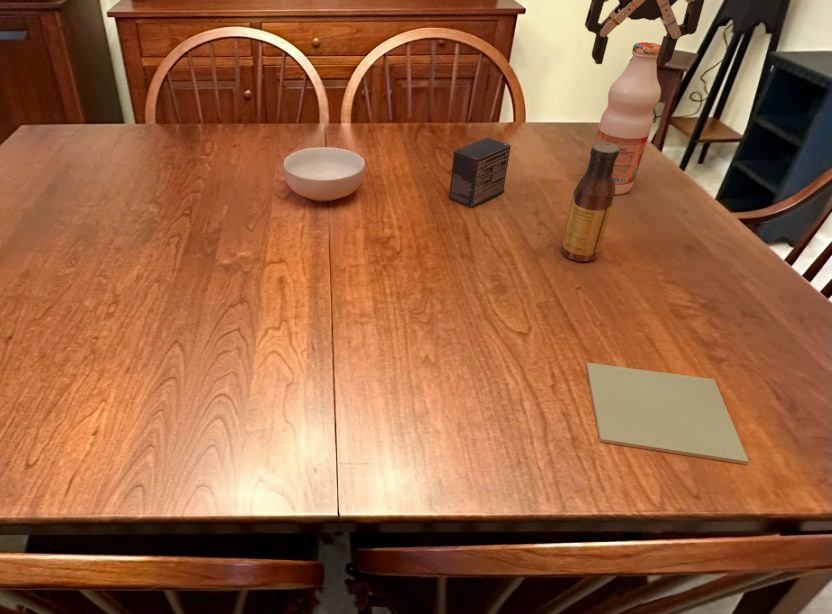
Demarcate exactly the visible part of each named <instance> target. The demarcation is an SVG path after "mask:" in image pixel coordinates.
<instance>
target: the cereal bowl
mask: <svg viewBox="0 0 832 614" xmlns="http://www.w3.org/2000/svg"><path fill="white" fill-rule="evenodd" d="M282 165H283V167H282V171H283V176H284V181H285V182H286V185H288V188H290V189H291V190H292V191H293V192H294V193H296V194H297V195H299V196H301V197H304V198H308V200H312V201H314V202H315V201H316V202H323V203H324V202H332V201H335V200H338V199H340V198H341V199H342V198H344V197H347V196H350V195H352V194H353V193H354V192H355V191H356V190H357V189H359V187H360V186H361V184H362V183H363V181H364V178H365V170H366V163H365V160H364V158H363V157H362V156H361V155H360V154H358V153H356V152H354V151H353V150H348V149H344V148H338V147H332V146H331V147H330V146H318V147H317V146H316V147H309V148H303V149H300V150H296V151H294V152H292V153H289V154H288V156H286V157H285V158H284V160H283V164H282Z"/></svg>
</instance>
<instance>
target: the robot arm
mask: <svg viewBox="0 0 832 614" xmlns="http://www.w3.org/2000/svg"><path fill="white" fill-rule="evenodd" d="M608 1H610V0H591V1H590V5H589V8H588V12H587V15H586V18H585V22H584V26H585V28H586V29H587V31H588V32H589V33H593V34H595V38H594V42H593V47H592V49H591V51H592V52H591V58H592V60H594V63H595V64H596V65H602V64H603V63H604V62H603V61H604V58H605V54H606V50H607V46H608V42H609V36H608V35H610V33H611V32H613V30H614V29H615V28H616V27H618V26H619V25H621V24H622V23H623V22H624V21H625V20H626V19H627V18H628V19H630V20H631V21H638V20H642V19H644V20H648V21H656V20H658V19H659V20H660V21H661V23H662V25H663V27H664V29H665V31H666V34H665V35H663V37H662V41H661V43H660V45H661V47H660V50H659V53H658V57H657V60H656V64H657V67H662V68H663V67H665V66H666V64H667V63H670V61H671V60H672V58H673V55H674V52H675V49H676V47H677V46H676V45H677V42H678V41H679V39H680V38H681V37H684V36H687V35H694V34H695V33H696V32H697V29H698V26H699V23H700V19H701V16H702V15H701V14H702V11H703V7H704V3H705V0H684V1H685V2H686V3H687V5H686V9H685V13H684V16H683V21H682V23H680V24H678V21H677V18H676V15H675V13H674V11H673V8H672V7H673V6H674V5H675V4H676V2H678V1H679V0H617V1H618V4H617V5H616V6H615V7H614V8H613V9H612V10H611V11H610V12H609V14H608V15H607V16H606V18H605V19H604V20H602V21H601V22H599V21H600V17H601V14H602V11H603V7H604V3H607V2H608Z"/></svg>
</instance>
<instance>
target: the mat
mask: <svg viewBox="0 0 832 614" xmlns="http://www.w3.org/2000/svg"><path fill="white" fill-rule="evenodd" d="M585 368H586V374H587V379H588V385H589V390H590V396H591V402H592V405H593V406H592V407H593V414H594V419H595V423H596V429H597V435H598V441H599V443H603V444H611V445H617V446H621V447H622V446H623V447H629V448H636V449H642V450H649V451H655V452H662V453H668V454H674V455H682V456H688V457H695V458H700V459H707V460H708V459H709V460H712V461H713V460H714V461H720V462H728V463H734V464H740V465H749V462H750V460H749V458H748V455H747V453H746V451H745V449H744V446H743V444H742V441H741V439H740V436H739V434H738V432H737V430H736V427H735V425H734V422H733V420H732V418H731V415H730V412H729V411H728V408H727V406H726V403H725V401H724V399H723V396H722V394H721V391H720V388H719V387H718V383H717V382H716V379H715V378H710V377H702V376H694V375H686V374H679V373H671V372H665V371H664V372H662V371H655V370H648V369H642V368H641V369H640V368H632V367H624V366H617V365H609V364H602V363H595V362H594V363H593V362H586V364H585Z"/></svg>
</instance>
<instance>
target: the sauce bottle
mask: <svg viewBox="0 0 832 614" xmlns="http://www.w3.org/2000/svg"><path fill="white" fill-rule="evenodd" d="M619 150H620V148H619V147H618V146H617V145H615V144H612V143H605V142H604V143H602V142H600V143H595V144H594V143H593V144H592V145H591V148H590V152H589V154H590V157H591V158H589V162H588V165H589V166H588V165H587V168H586V171H585V173H584V175H583V176H582V178H581V179H580V181H579V182H578V184H577V185H576V186H575V188H574V190H573V194H572V199H571V202H570V205H569V210H568V215H567V220H566V224H565V228H564V233H563V237H562V241H561V252H562V254H563V256H564V257H566V258H567V259H569V260H572V261H575V262H579V263H584V262H592V261H594V260H595V259H596V258H597V257H598V254H599V251H600V250H601V248H602V244H603V240H604V236H605V232H606V230H607V225H608V222H609V218H610V215H611V211H612V207H613V202H614V197H615V195H614V194H615V183H614V180H613V178H612V173H613V168H614V164H615V160H616V158H617V157H618V155H619Z"/></svg>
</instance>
